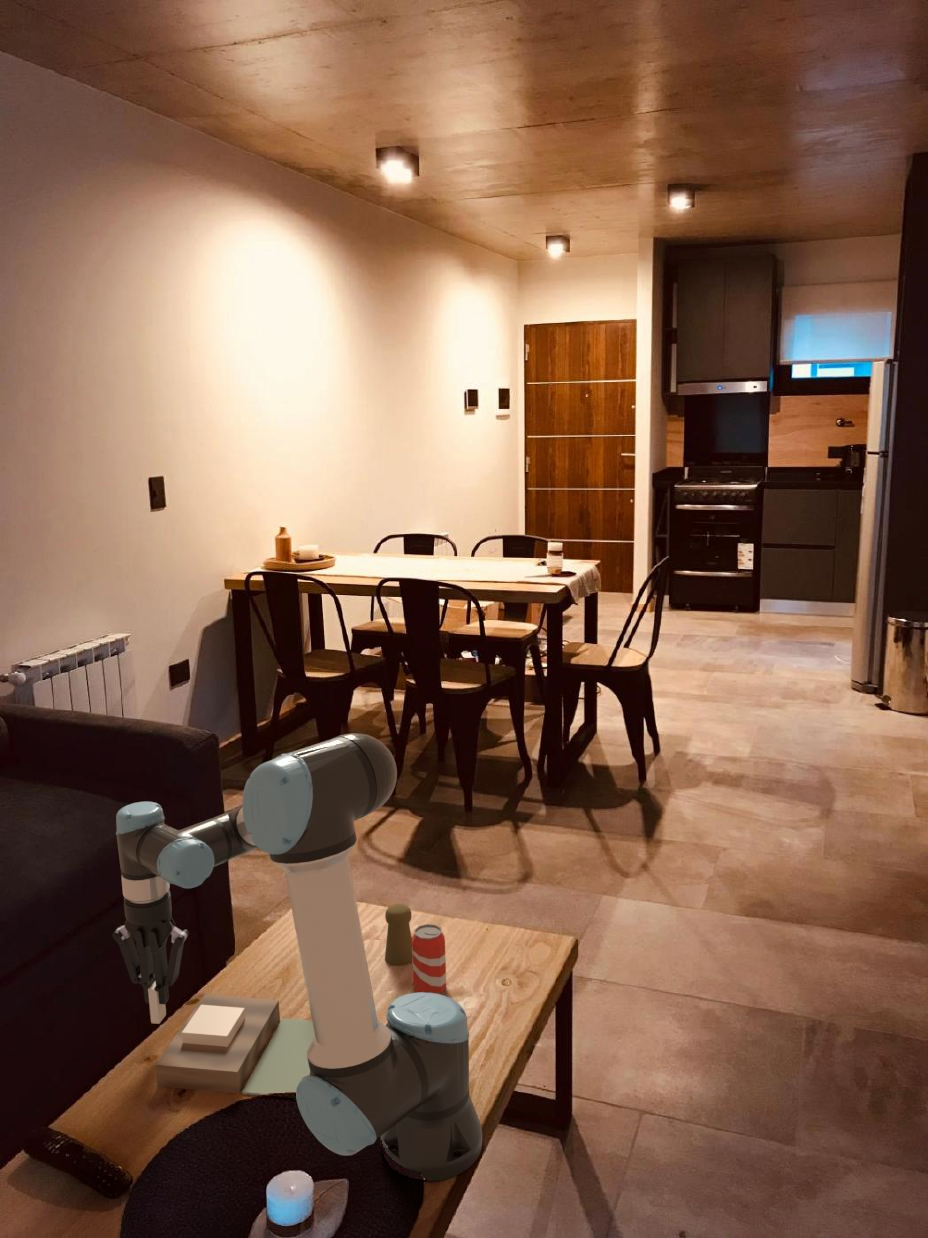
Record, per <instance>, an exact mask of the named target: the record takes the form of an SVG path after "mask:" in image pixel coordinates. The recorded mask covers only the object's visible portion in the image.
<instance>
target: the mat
mask: <svg viewBox="0 0 928 1238" xmlns="http://www.w3.org/2000/svg"><path fill="white" fill-rule="evenodd" d="M314 1038H315V1032H314V1027H313V1021H312V1019H310V1020H309V1019H299V1018H298V1019H297V1018H286V1017H283V1018H281V1019H280V1021H279V1023H278V1025H277V1026H276V1028H275V1030H274V1032H273V1034H272V1035H271V1037H270V1039H269V1041H268V1043H267V1045H266V1046H265V1048H264V1050H263V1052H262V1054H261V1055H260V1057H259V1059H258V1061H257V1063H256V1064H255V1066H254V1068H253V1069H254V1070H252V1072H251V1074H250V1075H249V1077H248V1078H249V1079H247V1081H246V1083H245V1084H244V1086H243V1087H244V1088H242V1089H243V1090H241V1094H242V1093H243V1094H242V1095H247V1094H251V1095H250V1096H258V1095H260V1094H267V1093H285V1092H296V1089H297V1087H298V1085H299V1082H300V1081H301V1080H302V1078H303V1077H305V1076H308V1075H309V1074H310V1069H309V1064H308V1058H307V1049H308V1047H309V1045H310V1043H311V1042H312V1041H313V1039H314ZM245 1093H246V1094H245Z"/></svg>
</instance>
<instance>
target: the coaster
mask: <svg viewBox="0 0 928 1238" xmlns="http://www.w3.org/2000/svg"><path fill="white" fill-rule="evenodd" d="M244 1020H245V1008H238V1007H225V1006H212V1005H200V1007H199V1008H198V1010H197V1011H196V1013H195V1014H194V1015H193V1017H192V1018H191V1020H190V1021H189V1023H188V1024H187V1026H186V1027H185V1028H184V1030H183V1031H182V1041H183V1043H189V1044H201V1045H213V1046H225V1047H228V1046H229V1044H230V1043H231V1041H232V1039H233V1038H234V1036H235V1034H236V1033H237V1031H238V1029H239V1028H240V1026H241V1025H242V1023H243V1021H244Z"/></svg>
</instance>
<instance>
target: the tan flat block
mask: <svg viewBox="0 0 928 1238" xmlns="http://www.w3.org/2000/svg"><path fill="white" fill-rule="evenodd" d="M200 1005H212V1006H225V1007H238V1008H245V1020H244V1021H243V1023H242V1025H241V1026H240V1028H239V1029H238V1031H237V1033H236V1034H235V1036H234V1038H233V1039H232V1041H231V1043H230V1044H229V1046H228V1047H225V1046H213V1045H201V1044H189V1043H183V1041H182V1031H183V1030H184V1028H185V1027H186V1026H187V1024H188V1023H189V1021H190V1020H191V1018H192V1017H193V1015H194V1014H195V1013H196V1011H197V1010H198V1008H199V1007H200ZM193 1009H194V1010H192V1012H191V1014H190V1015H189V1016H188V1018H187V1019H186V1021H185V1022H184V1024H183V1025H182V1027H181V1028H180V1029H179V1031H178V1032H177V1033H176V1035H175V1036H174V1038H173V1039H172V1041H171V1042H170V1044H169V1045H168V1046H167V1047H166V1049H165V1051H164V1052H163V1054H162V1055H161V1056H160V1057H159V1059H158V1061H157V1062H156V1063H155V1073H156V1074H155V1075H156V1083H157V1087H160V1088H171V1089H172V1088H173V1089H185V1090H195V1091H202V1092H203V1091H204V1092H216V1093H217V1092H218V1093H226V1094H236V1093H239V1094H240V1093H241V1092H242V1091H243V1090H242V1089H244V1088H243V1087H245V1085H246V1083H247V1081H248V1080H249V1079H248V1078H250V1076H251V1074H252V1072H253V1071H254V1070H253V1069H255V1067H256V1065H257V1063H258V1062H259V1060H260V1058H261V1056H262V1054H263V1053H264V1051H265V1049H266V1047H267V1045H268V1044H269V1042H270V1040H271V1038H272V1036H273V1035H274V1033H275V1031H276V1029H277V1027H278V1026H279V1024H280V1022H281V1015H280V1014H281V1012H280V999H279V1000H278V999H269V998H258V997H257V998H256V997H246V996H245V997H244V996H230V995H229V996H228V995H220V994H218V995H216V994H204V995H203V996H202V997H201V999H200V1001H199V1002H198V1004H197V1005H196V1006H195V1008H193Z"/></svg>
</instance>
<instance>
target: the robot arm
mask: <svg viewBox="0 0 928 1238" xmlns="http://www.w3.org/2000/svg"><path fill="white" fill-rule="evenodd" d="M397 777H398V768H397V764H396V761H395V758H394V756H393V754H392V752H391V751H390V749H389V748H388V747H387V745H385V744H384V743H383V742H382V741H380V740H379V739H377V738H375V737H374V736H371V735H369V734H365V733H364V734H363V733H346V734H345V733H344V734H341V735H338V736H335V737H333V738H331V739H327V740H324V741H322V742H319V743H316V744H315V743H314V744H312V745H310V746H306V747H303V748H300V749H297V750H293V751H291V752H287V753H282V754H280V755H277V756H276V757H275V758H273V759H271V760H268V761H265V762H263V763H261V764H259V765H258V766H257V767H255V769H254V770H253V771H252V772H251V773H250V775H249V778H248V779H247V780H246V783H245V786H244V789H243V793H242V800H241V801H242V802H241V803H242V805H240V806H238V807H236V808H234V809H232V810H230V811H228V812H225V813H222V814H219V815H217V816H214V817H212V818H209V819H206V820H204V821H201V822H199V823H195V824H193V825H190V826H187V827H184V828H182V829H176V828H173V827H172V826H169V825H168V824H165V820H166V818H165V814H164V810H163V808H162V806H161V805H160V804H159V803H157V802H153V801H139V802H133V803H130V804H127V805H125V806H122V808H120V809H119V810H118V811H117V813H116V816H115V817H116V818H115V819H116V820H115V822H116V823H115V824H116V831H115V835H116V840H117V841H116V842H117V850H118V856H119V865H120V873H121V886H122V895H123V897H124V898H123V906H124V916H125V919H126V920H125V921H124V925H123V924H122V925H121V924H120V926H119V927H117V928H116V930H115V931H114V932H113V933H112V934H111V935H112V938H113V939H114V941H115V942H116V943H117V945H118V946H119V949H120V952H121V955H122V957H123V961H124V964H125V966H126V970H127V972H128V975H129V977H130V981H131V983H132V984H134V985H137V984H139V985H141V987H143V988H142V989H143V996H144V997H143V998H144V1002H145V1004H149V1016H150V1022H151V1024H158V1025H159V1024H161V1022H162V1021H163V1020H164V1018H165V1017H166V1015H167V1008H166V1003H167V1002H168V1001H169V999H170V993H169V992H170V991H169V987H172V986H173V984H174V983H175V982H176V981H177V979H178V978H179V975H180V974H179V973H180V967H181V962H182V956H183V951H184V944H185V941H186V939H187V938H188V936H189V934H190V932H189V930H188V929H183V930H182V929H180V928H178V927H177V926H176V923H175V922H176V921H174V918H173V917H172V910H173V907H172V895H171V891H170V887H171V886H170V885H175V886H177V887H181V888H183V889H193V888H196V887H199V886H201V885H202V884H203V883H204V881H205V880H207V878H209V877H210V876H211V874H212V872H213V870H214V868H215V867H217V866H219V865H221V864H224V863H226V862H228V861H230V860H233V859H235V858H239V857H241V856H243V855H246V854H248V853H250V852H253V851H256V850H261V852H263V853H265V854H269V857H270V861H271V863H273V864H274V865H276V866H277V867H279V868H281V869H282V870H283V871H284V873H285V874H284V875H285V879H286V885H287V891H288V892H287V893H288V896H289V903H290V907H291V912H292V917H293V922H294V929H295V934H296V935H295V936H296V940H297V945H298V952H299V956H300V961H301V967H302V972H303V977H304V981H305V982H304V983H305V988H306V993H307V994H306V995H307V1000H308V1004H309V1011H310V1015H311V1020H312V1021H313V1027H314V1032H315V1038H314V1039H313V1041H312V1042H311V1043H310V1045H309V1047H308V1049H307V1058H308V1064H309V1069H310V1074H309V1075H308V1076H305V1077H303V1078H302V1080H301V1081H300V1082H299V1085H298V1087H297V1089H296V1099H295V1100H296V1103H297V1107H298V1110H299V1113H300V1115H301V1117H302V1119H303V1121H304V1123H305V1125H306V1126H307V1128H308V1129H309V1131H310V1133H312V1134H313V1136H314V1137H315V1138H316V1139H317V1141H318V1142H319V1143H321V1145H323V1146H324V1147H325V1148H327V1150H330V1151H331V1152H332V1153H334V1154H337V1155H339V1156H353V1155H355V1154H357V1153H358V1152H361V1151H362V1150H363V1149H364V1148H366V1147H367V1146H370V1145H373V1144H375V1142H376V1141H377V1140H378V1139H379V1138H380V1141H381V1140H382V1144H383V1147H384V1148H385V1151H386V1153H387V1154H388V1155H389V1156H390V1157H391V1158H392V1160H394V1161H395V1162H396V1163H398V1164H399V1165H401V1166H403V1167H404V1168H407V1169H409V1170H413V1171H416V1172H421V1174H422V1177H424V1178H425V1180H427V1181H426V1182H438V1181H443V1180H448V1179H450V1178H453V1177H456V1176H459V1175H460V1174H462V1173H464V1172H465V1171H466V1170H468V1169H469V1168H470V1167H472V1166H473V1165H474V1164H475V1162H476V1161H477V1159H478V1158H479V1157H480V1155H481V1151H482V1149H483V1128H482V1124H481V1120H480V1118H479V1115H478V1113H477V1110H476V1108H475V1106H474V1103H473V1101H472V1098H471V1096H470V1063H469V1062H470V1054H469V1053H470V1051H469V1050H470V1048H469V1047H470V1046H469V1045H470V1043H469V1042H470V1041H469V1039H470V1031H469V1028H468V1027H469V1026H468V1017H467V1012H466V1010H464V1007H463V1006H462V1005H461V1004H459V1002H458V1001H456V1000H454V999H452V998H451V997H449V996H447V995H443V994H441V993H439V994H436V993H425V992H412V993H411V992H410V993H407V994H403V995H400V996H399V997H397V998H395V999H393V1001H391V1002H390V1004H389V1005H388V1008H387V1012H386V1015H385V1018H386V1021H387V1022H386V1024H383V1023H382V1022H380V1021H379V1020H378V1015H377V1010H376V1005H375V1000H374V993H373V988H372V982H371V976H370V971H369V965H368V960H367V953H366V949H365V944H364V939H363V938H364V937H363V932H362V927H361V926H362V925H361V921H360V915H359V909H358V904H357V899H356V894H355V893H356V892H355V887H354V881H353V876H352V871H351V865H350V860H349V859H350V857H349V856H350V854H351V852H352V851H353V850H354V848H355V847H356V846H357V843H358V841H357V833H356V829H355V823H354V822H356V821H358V820H360V819H362V818H364V817H366V816H368V815H370V814H372V813H374V812H375V811H377V810H378V809H380V808H381V807H383V805H384V804H385V803H387V801H388V800H389V799H390V797H391V796H392V794H393V792H394V790H395V787H396V783H397V780H398V779H397ZM170 935H171V943H172V945H171V948H170V954H169V959H168V957H167V955H168V954H167V944H168V943H167V942H168V941H167V940H168V938H169V937H170ZM154 979H155V980H154ZM394 1148H396V1150H397V1151H390V1150H391V1149H394Z"/></svg>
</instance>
